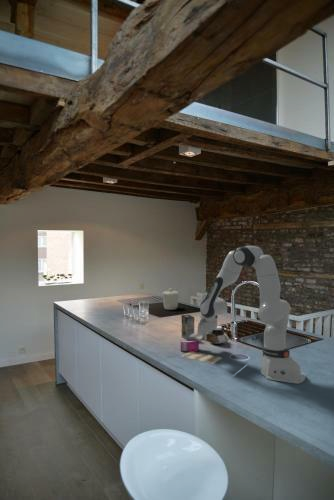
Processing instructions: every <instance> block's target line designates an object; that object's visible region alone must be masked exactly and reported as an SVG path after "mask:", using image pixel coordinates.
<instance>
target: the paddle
mask: <svg viewBox="0 0 334 500" xmlns="http://www.w3.org/2000/svg"><path fill="white" fill-rule="evenodd" d="M207 337H208V338H207V340H204V336H203V335H198V333H197V332H194V333H193V334H192V335H190V336H189V338H191V339H192V340H194V341H198V342H202V341H204V342H207V343H210V344H212V343H214V344H216V343H217V341H218V336H215V335H211V334H208V333H207Z"/></svg>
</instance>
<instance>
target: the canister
mask: <svg viewBox="0 0 334 500" xmlns="http://www.w3.org/2000/svg"><path fill="white" fill-rule="evenodd" d="M161 295H162V302H163V308H164V309H165V310H169V311H173V310H177V309H178V304H179V298H180V297H179V295H180V292H179V291H176V290H173V289H172V288H171V287H170V288H168V290H164V291H163V292H161Z"/></svg>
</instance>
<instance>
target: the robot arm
mask: <svg viewBox="0 0 334 500" xmlns="http://www.w3.org/2000/svg"><path fill="white" fill-rule="evenodd" d="M243 267H246V268H250V267H253V268H254V269H255V274H256V278H257V284H258V289H259V307H258V311H257V316H258V319H259V320H260V321H261V322H262V323H263V324H265V328H264V331H263V347H262V357H263V360H262V364H261V369H260V374H261V375H262V376H264V377H265V378H266V379H267V380H270V381H277V382H283V383H289V384H295V385H300V384H302V383H303V382H305V381H306V378H307V377H306V374H305V373H304V372H302V369H301V365H300V364H299V363H298V362H297V361H296V360H295V359H294V358H293V357H291V356H290V353H291V349H287V347H286V342H287V341H286V340H287V337H286V336H287V335H286V334H287V328H288V323H289V318H290V317H289V316H290V314H291V305H290V303H289V302H288V301H287V300H285V299H281V289H282V287H281V282H280V277H279V271H278V268H277V265H276V262H275V259H274V258H273V257H272V255H269V254H267V253H266V250H265V248H264V247H262V246H259V245H245V246H239V247H237V248H236V249H235V250H231V251H229V252H228V254H227V255H226V257H225V258H224V261H223V263H222V266H221V269H220V271H219V272H218V274H217V275H216V277H215V278H214V280H213V281H212V283H211V285H210V287H209V289H208V291H205V292H202V294H201V295H200V304H199V311H200V313H199V314H200V320H199V322H198V324H197V332H196V333H197V334H198V335H203V336H204V340H207V338H208V337H207V334H212V331H213V330H215V329H216V328H217V326H218V317H219V315H223V314H225V313H226V312H227V310H228V303H227V301H226V300H225V299H224V298H221V297H219V295H220V292H221V291H222V290H224V289H225V288H227V287H228V286H231V285H233V284H235V283H236V282H237V280H238V279H239V277H240V274H241V272H242V270H243ZM204 340H203V341H204Z"/></svg>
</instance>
